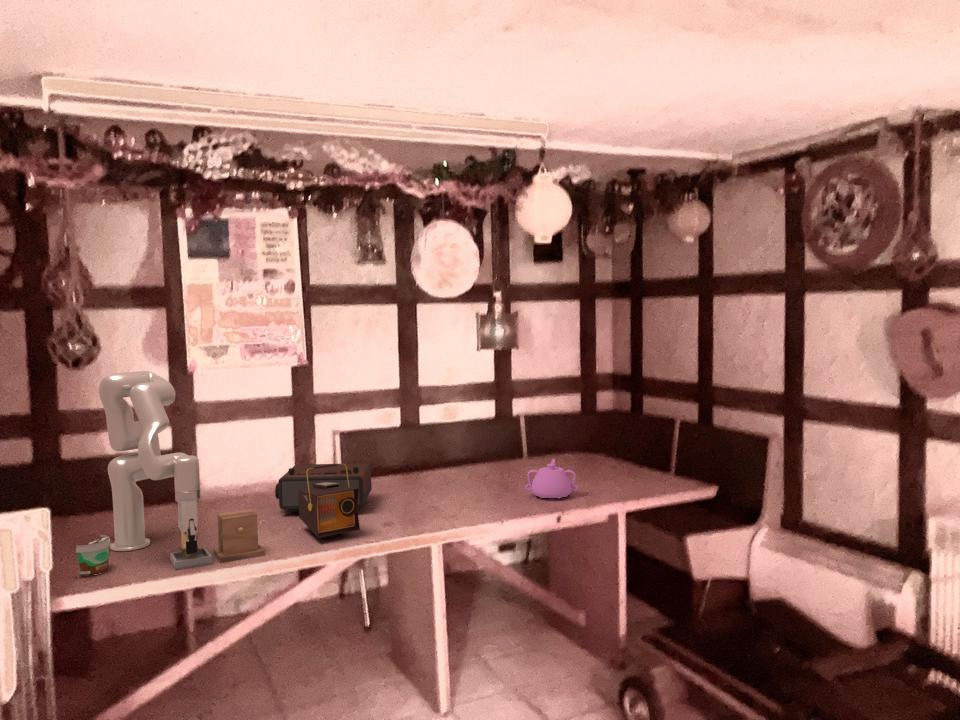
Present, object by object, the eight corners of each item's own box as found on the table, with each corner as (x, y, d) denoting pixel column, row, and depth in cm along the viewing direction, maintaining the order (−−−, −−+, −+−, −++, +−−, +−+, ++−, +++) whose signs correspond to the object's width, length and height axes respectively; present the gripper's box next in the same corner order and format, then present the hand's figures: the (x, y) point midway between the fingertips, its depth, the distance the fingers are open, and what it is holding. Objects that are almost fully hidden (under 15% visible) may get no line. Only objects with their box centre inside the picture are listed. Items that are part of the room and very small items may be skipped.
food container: (95, 579, 234) (93, 546, 234) (77, 578, 235) (75, 546, 235) (121, 565, 246) (119, 534, 246) (103, 565, 247) (102, 534, 247)
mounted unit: (213, 552, 258) (211, 512, 257) (255, 545, 264) (254, 506, 263) (220, 562, 247) (218, 521, 246) (264, 555, 254) (263, 514, 253)
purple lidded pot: (578, 489, 336) (578, 458, 335) (577, 502, 315) (577, 468, 314) (528, 488, 339) (527, 457, 338) (523, 501, 318) (523, 467, 317)
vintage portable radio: (319, 546, 262) (316, 473, 261) (292, 531, 281) (289, 463, 280) (362, 537, 272) (360, 466, 270) (333, 523, 291) (331, 457, 289)
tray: (170, 560, 250) (169, 552, 250) (205, 554, 256) (205, 547, 256) (175, 570, 241) (174, 562, 241) (212, 563, 246) (211, 556, 246)
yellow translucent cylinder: (180, 554, 249) (179, 529, 249) (197, 551, 252) (196, 527, 251) (183, 558, 245) (182, 533, 244) (200, 555, 247) (198, 530, 247)
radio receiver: (273, 517, 301) (271, 472, 299) (289, 500, 327) (287, 458, 326) (363, 515, 301) (362, 469, 300) (372, 498, 328) (370, 456, 327)
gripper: (171, 491, 253) (173, 546, 254) (179, 502, 238) (182, 560, 239) (195, 488, 256) (197, 542, 257) (204, 498, 241) (207, 556, 243)
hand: (190, 550), depth 248 cm, fingers closed on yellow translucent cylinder, 4 cm apart
